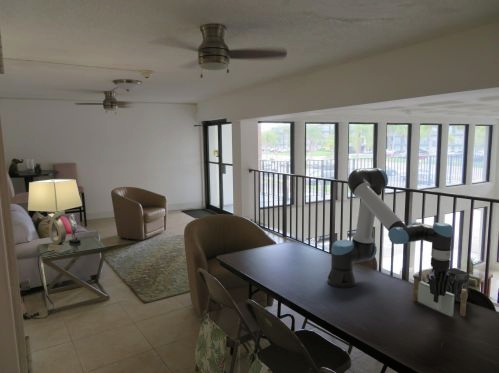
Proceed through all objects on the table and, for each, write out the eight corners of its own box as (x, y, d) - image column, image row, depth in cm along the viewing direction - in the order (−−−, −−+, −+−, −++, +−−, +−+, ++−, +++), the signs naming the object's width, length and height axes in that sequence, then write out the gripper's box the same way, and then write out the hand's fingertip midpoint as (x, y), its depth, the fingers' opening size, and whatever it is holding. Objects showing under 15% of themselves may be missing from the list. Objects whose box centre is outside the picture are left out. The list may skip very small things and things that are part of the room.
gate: (417, 300, 171) (418, 281, 169) (420, 300, 171) (421, 281, 170) (450, 316, 155) (452, 295, 154) (453, 315, 156) (454, 294, 155)
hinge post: (410, 300, 173) (412, 276, 171) (413, 298, 175) (414, 274, 174) (417, 302, 171) (418, 277, 169) (419, 300, 173) (421, 276, 171)
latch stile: (459, 315, 159) (461, 289, 157) (461, 313, 160) (463, 288, 159) (464, 316, 157) (466, 291, 156) (465, 314, 159) (467, 289, 158)
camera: (455, 306, 167) (457, 276, 165) (438, 297, 177) (440, 268, 175) (472, 303, 169) (475, 274, 167) (454, 294, 179) (456, 266, 178)
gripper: (438, 262, 148) (434, 315, 151) (458, 258, 154) (454, 309, 156) (423, 257, 155) (419, 307, 158) (443, 253, 160) (439, 302, 163)
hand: (437, 308), depth 157 cm, fingers closed
